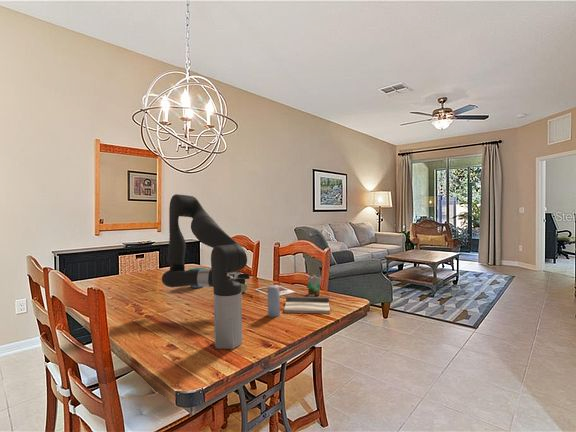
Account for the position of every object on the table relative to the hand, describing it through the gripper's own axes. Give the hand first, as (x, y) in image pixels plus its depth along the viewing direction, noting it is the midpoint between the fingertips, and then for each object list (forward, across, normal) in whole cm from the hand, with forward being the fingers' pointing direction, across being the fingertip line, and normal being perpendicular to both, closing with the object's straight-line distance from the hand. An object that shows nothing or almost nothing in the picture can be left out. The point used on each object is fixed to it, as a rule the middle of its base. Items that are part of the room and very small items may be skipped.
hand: (247, 278), depth 133 cm
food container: (+29, +30, +16) cm, 45 cm away
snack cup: (-39, +44, +17) cm, 61 cm away
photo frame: (+7, +37, +16) cm, 41 cm away
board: (+25, +10, +15) cm, 31 cm away
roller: (+12, 0, +15) cm, 19 cm away
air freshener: (-13, +34, +16) cm, 39 cm away
